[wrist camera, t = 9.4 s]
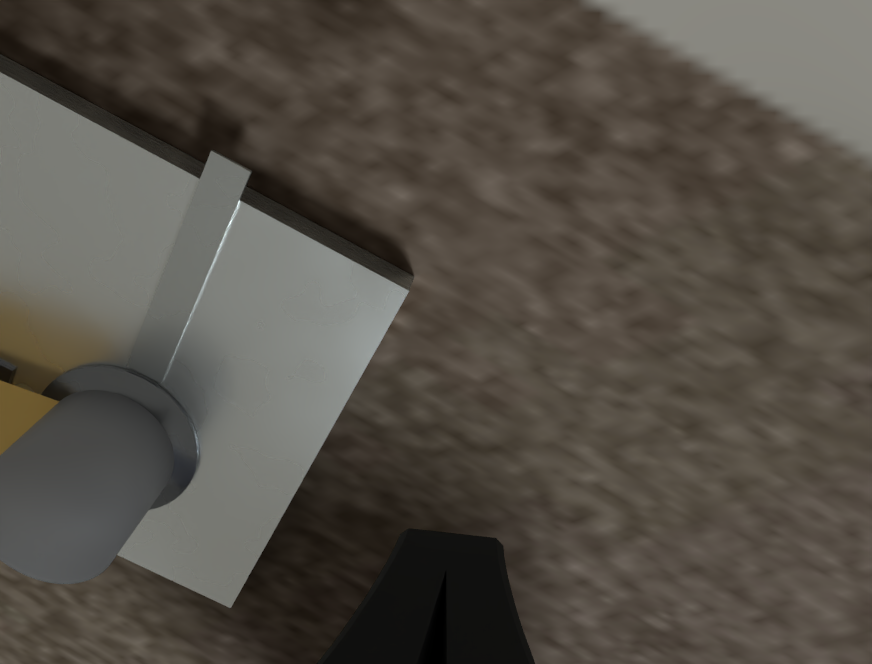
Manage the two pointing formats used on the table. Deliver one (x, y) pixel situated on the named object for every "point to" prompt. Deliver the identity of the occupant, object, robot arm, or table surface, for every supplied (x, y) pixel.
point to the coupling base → (180, 317)
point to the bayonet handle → (75, 479)
